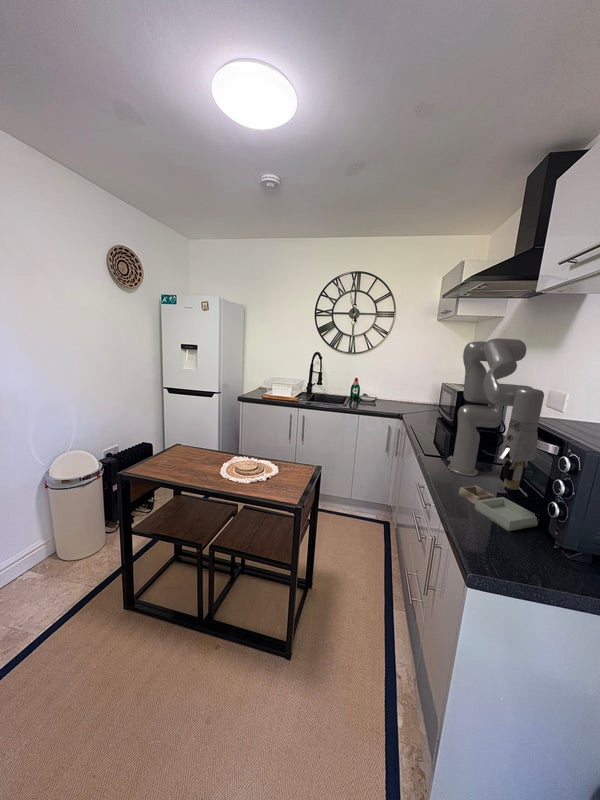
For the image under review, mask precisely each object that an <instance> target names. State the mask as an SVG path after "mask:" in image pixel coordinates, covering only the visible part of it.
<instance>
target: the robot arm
mask: <svg viewBox="0 0 600 800" xmlns="http://www.w3.org/2000/svg"><path fill="white" fill-rule="evenodd" d="M526 354H527V345H526V343H525V342H524V341H522V340H521V339H517V338H516V339H514V338H492V339H489V340H487V341H483V340H482V341H481V340H480V341H472V342H469V343H467V344H466V345H465V346H464V349H463V354H462V360H463V361H462V362H463V366H464V370H465V372H464V373H465V374H464V383H463V398H464V400H465V401H467V402H470V403H481V404H487V405H477V404H476V405H475V404H464V405H462V406H460V407H459V409H458V411H457V431H456V435H455V436H456V437H455V443H454V450H453V455H449V456H448V457H447V458H446V460H448V461H449V462H450V463H449V464H448V465H447V469H448V468H449V469H450V471H451V472H452V471H453V472H452V473H454V474H457V475H461V476H465V477H466V476H467V477H475V476H477V475H478V473H479V472H478V470H477V468H475V467H476V463H477V458H478V457H477V456H478V452H479V445H480V439H481V435H480V433H479V431H478V430H477V427H481V428H492V429H494V428H498V427H499V426H500V425H501V423H502V418H503V411H504V410H503V409H504V406H506V407H512V408H511V414H510V419H509V425H508V428H507V431H506V433H505V436H504V440H503V444H502V450H501V455H500V456H499V458H498V460H500V462H501V463H502V466H503V470H502V476H501V477H502V478H503V479H504V480H505V479H507V480H509V481H512V479H513V474H514V469H513V467H514V465H515V462H522V461H524V466H523V471H522V475H521V480H524V478H525V473H526V469H527V468H528V465H529V464H530V462H531V461H534V460H535V458H536V455H537V450H538V449H537V448H538V439H539V438H538V437H539V436H538V434H539V433H538V427H539V422H540V418H541V414H542V413H541V412H542V407H543V404H544V403H543V402H544V400H545V399H544V398H545V393H544V390H541V389H538V388H533V387H532V386H528V385H524V384H522V385H521V384H512V383H510V384H509V383H499V382H498V381H497V380H500V379H503V378H506V377H509V376H510V375H512V374H513V373H514V372H516V370H517V368H518V363H517V362H519V361H520V362H521V361H522V360H523V359H524V358H525V356H526ZM482 362H486V363H487V364H488V367H489V370H488V371H487V369H486V368H485V367H486V366H484V364H483V363H482ZM509 457H510V458H509ZM509 460H510V461H511V464H510V463H509ZM449 469H448V470H449Z"/></svg>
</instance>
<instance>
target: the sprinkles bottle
mask: <svg viewBox="0 0 600 800" xmlns="http://www.w3.org/2000/svg"><path fill="white" fill-rule="evenodd" d="M509 458H510V457H509ZM509 463H510V464H511V461H510V460H509ZM523 466H524V461H522V462H515V465H514V467H513V469H514V474H513V479H512V481H509V480H507V479H505V478H504V480H503V486H504V487H505V488H507V489H509V490H519V489H520V482H521V480H522V479H521V475H522V471H523Z"/></svg>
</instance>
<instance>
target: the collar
mask: <svg viewBox="0 0 600 800" xmlns="http://www.w3.org/2000/svg"><path fill="white" fill-rule="evenodd" d="M458 495H459V496H460V497H462V498H463V499H465V500H467V501H468V502H470V503H472V504H473V505H475V504H476V501H478V500H485V499H492V498H495V495H494V494H492V493H490V492H489V491H487V490H485V489H483V488H481V487H480V486H478V485H470V486H461V487H459V490H458Z"/></svg>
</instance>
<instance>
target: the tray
mask: <svg viewBox="0 0 600 800" xmlns="http://www.w3.org/2000/svg"><path fill="white" fill-rule="evenodd" d="M474 511H475V512H478V513H479V514H480V515H482V516H484V517H485V518H486V519H488V520H490V521H491V522H493V523H494V524H497V526H500V527H501V528H503V529H504V530H506V532H507V531H508V532H512V531H516V530H517V531H518V530H522V529H527V528H533V527H537V526H538V522H539V520H538V521H537V517H536V516H535V514H536V513H534V512H532V511H530V510H528V509H526V508H524V507H522V506H521V505H519V504H517V503H515V502H514V501H511V500H509V499H507V498H506V497H504V496H501V497H494V498H492V499H485V500H478V501H476V504H474Z"/></svg>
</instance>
